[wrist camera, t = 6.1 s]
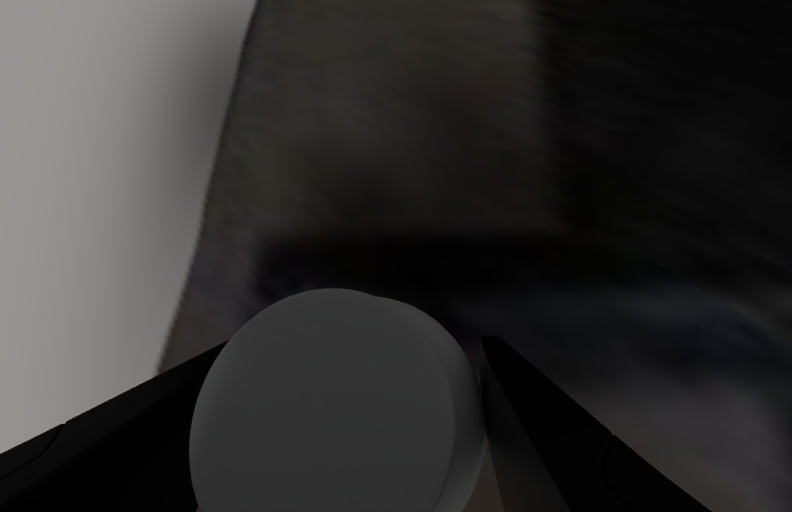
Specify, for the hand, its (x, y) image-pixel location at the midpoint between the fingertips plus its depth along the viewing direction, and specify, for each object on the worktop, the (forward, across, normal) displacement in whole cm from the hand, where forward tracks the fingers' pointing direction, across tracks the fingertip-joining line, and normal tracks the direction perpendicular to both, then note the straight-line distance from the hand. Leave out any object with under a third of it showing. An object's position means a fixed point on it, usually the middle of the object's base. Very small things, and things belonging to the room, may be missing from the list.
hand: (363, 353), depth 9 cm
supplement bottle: (+4, 0, +6) cm, 7 cm away
